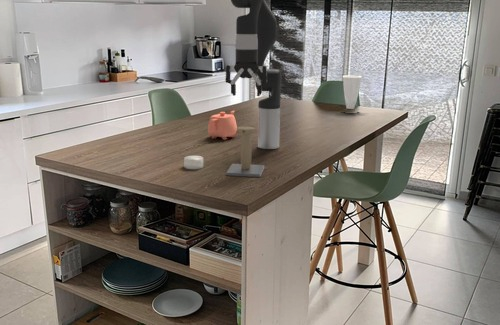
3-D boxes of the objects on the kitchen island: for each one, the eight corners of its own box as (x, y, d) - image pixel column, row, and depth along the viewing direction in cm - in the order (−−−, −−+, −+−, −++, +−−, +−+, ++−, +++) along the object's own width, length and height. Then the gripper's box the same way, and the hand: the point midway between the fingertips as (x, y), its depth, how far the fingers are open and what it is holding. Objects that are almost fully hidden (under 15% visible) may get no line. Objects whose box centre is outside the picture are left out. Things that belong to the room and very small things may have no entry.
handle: (239, 166, 188) (239, 126, 184) (256, 167, 186) (256, 127, 182) (235, 169, 184) (235, 128, 180) (252, 171, 182) (252, 129, 178)
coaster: (232, 166, 192) (232, 163, 192) (264, 167, 190) (264, 165, 190) (226, 175, 180) (226, 172, 180) (260, 177, 179) (260, 174, 179)
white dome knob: (187, 164, 195) (186, 155, 194) (205, 165, 194) (205, 156, 193) (182, 169, 188) (182, 160, 187) (200, 170, 187) (200, 160, 186)
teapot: (223, 142, 229) (222, 116, 226) (200, 139, 235) (200, 113, 232) (244, 134, 246) (244, 109, 243) (223, 132, 252) (223, 107, 249)
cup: (355, 114, 304) (357, 77, 298) (337, 112, 310) (339, 76, 304) (362, 111, 313) (364, 76, 307) (344, 109, 319) (346, 74, 313)
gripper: (268, 47, 176) (267, 94, 181) (227, 47, 178) (228, 93, 183) (266, 48, 169) (265, 97, 174) (223, 48, 171) (224, 96, 175)
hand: (246, 95), depth 178 cm, fingers open, 8 cm apart
